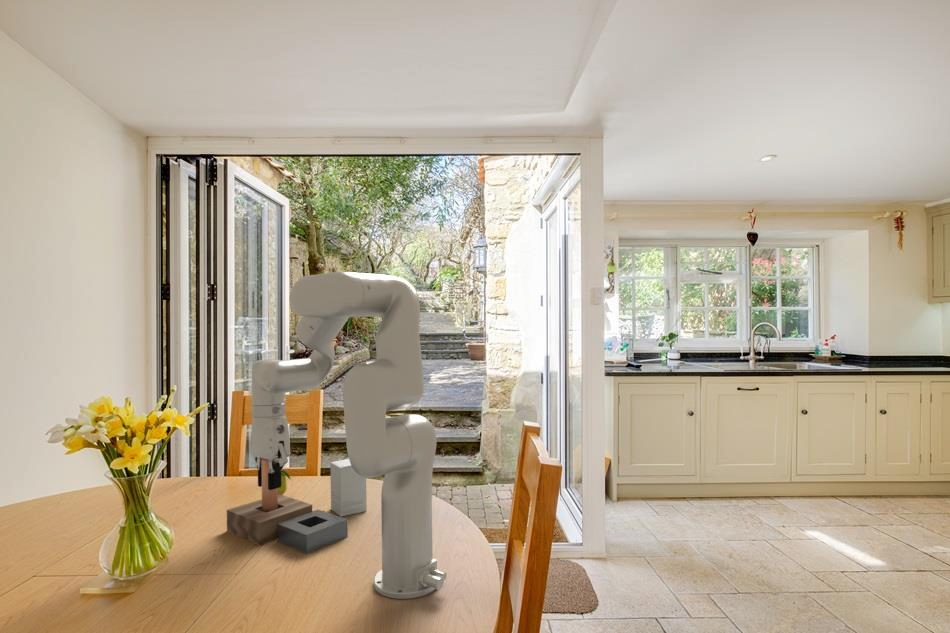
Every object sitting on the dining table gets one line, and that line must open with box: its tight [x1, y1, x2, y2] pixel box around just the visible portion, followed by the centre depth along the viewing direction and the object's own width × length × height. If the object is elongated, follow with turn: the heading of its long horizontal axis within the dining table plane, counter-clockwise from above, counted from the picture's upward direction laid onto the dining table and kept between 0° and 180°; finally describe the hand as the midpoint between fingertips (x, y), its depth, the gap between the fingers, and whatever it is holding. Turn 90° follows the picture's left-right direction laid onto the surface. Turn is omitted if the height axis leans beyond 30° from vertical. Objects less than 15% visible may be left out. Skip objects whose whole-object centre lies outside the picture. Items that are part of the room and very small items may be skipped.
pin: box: [261, 456, 278, 511], centre depth 128 cm, size 4×4×12 cm
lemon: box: [278, 469, 291, 495], centre depth 149 cm, size 7×6×10 cm
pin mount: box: [276, 509, 349, 555], centre depth 121 cm, size 11×11×4 cm
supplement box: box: [329, 458, 368, 517], centre depth 140 cm, size 7×7×13 cm
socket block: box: [226, 494, 313, 546], centre depth 128 cm, size 14×14×5 cm
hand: (269, 486), depth 128 cm, fingers closed on pin, 3 cm apart
